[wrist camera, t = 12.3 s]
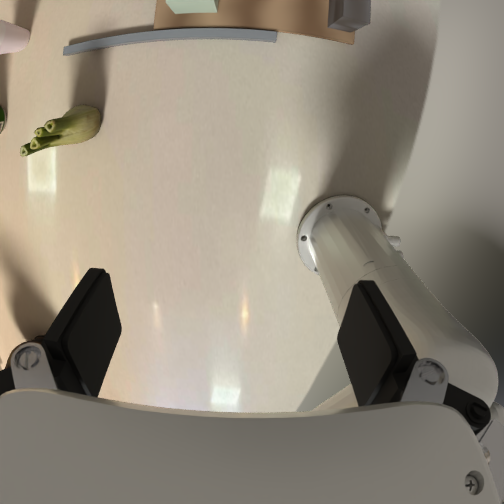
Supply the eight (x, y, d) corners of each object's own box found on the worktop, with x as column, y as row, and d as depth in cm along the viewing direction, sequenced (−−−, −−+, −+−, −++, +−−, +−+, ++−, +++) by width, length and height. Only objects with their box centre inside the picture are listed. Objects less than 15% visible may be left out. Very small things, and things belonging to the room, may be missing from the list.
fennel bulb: (70, 142, 33) (18, 164, 23) (68, 107, 31) (13, 118, 20) (107, 137, 33) (58, 157, 23) (105, 101, 31) (55, 107, 21)
